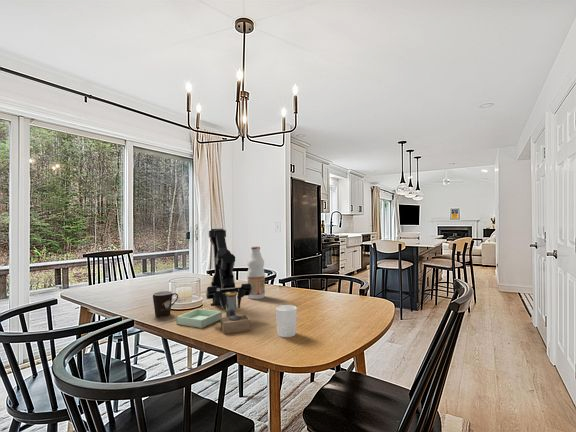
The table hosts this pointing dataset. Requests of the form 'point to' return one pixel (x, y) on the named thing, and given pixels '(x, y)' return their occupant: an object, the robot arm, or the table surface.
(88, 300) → the table surface
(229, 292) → the grey metal cylinder
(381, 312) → the table surface
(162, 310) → the coffee mug
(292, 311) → the white cup
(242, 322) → the block
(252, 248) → the fruit juice
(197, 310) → the green tray
